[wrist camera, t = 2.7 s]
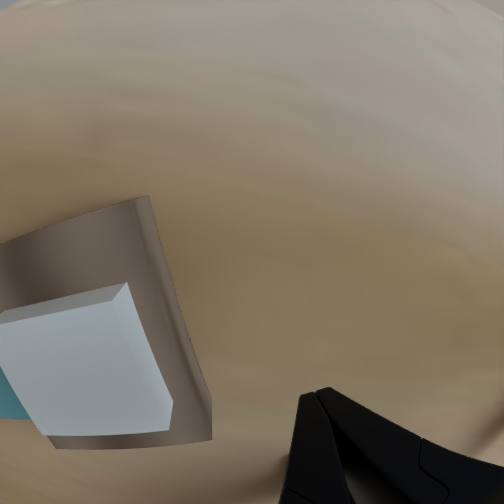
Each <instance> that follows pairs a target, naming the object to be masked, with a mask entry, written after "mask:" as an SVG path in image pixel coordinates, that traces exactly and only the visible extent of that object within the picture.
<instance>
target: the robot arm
mask: <svg viewBox="0 0 504 504" xmlns="http://www.w3.org/2000/svg"><path fill="white" fill-rule="evenodd" d="M278 504H504V467H502V466H498V465H495V464H491V463H488V462H484V461H481V460H477V459H474V458H470V457H467V456H464V455H461V454H459V453H456V452H453V451H450V450H448V449H446V448H443V447H441V446H439V445H437V444H434V443H432V442H430V441H428V440H426V439H424V438H422V439H421V437H420V436H418V435H416V434H414V433H412V432H410V431H408V430H406V429H404V428H403V427H401V426H399V425H397V424H395V423H393V422H391V421H389V420H388V419H386V418H384V417H382V416H380V415H378V414H376V413H375V412H373V411H371V410H369V409H367V408H366V407H364V406H362V405H360V404H359V403H357V402H355V401H353V400H352V399H350V398H348V397H346V396H345V395H343V394H341V393H339V392H338V391H336V390H334V389H333V388H331V387H326V388H323V389H320V390H317V391H316V392H309V393H306V394H302V395H300V397H299V402H298V408H297V414H296V420H295V426H294V431H293V437H292V442H291V447H290V453H289V458H288V463H287V468H286V473H285V478H284V482H283V488H282V491H281V495H280V500H279V503H278Z"/></svg>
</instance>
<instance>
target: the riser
mask: <svg viewBox="0 0 504 504" xmlns="http://www.w3.org/2000/svg"><path fill="white" fill-rule="evenodd" d="M125 282H127V284H128V287H129V290H130V293H131V296H132V299H133V302H134V305H135V308H136V310H137V313H138V316H139V319H140V322H141V324H142V327H143V330H144V332H145V335H146V338H147V340H148V343H149V345H150V348H151V350H152V353H153V355H154V358H155V360H156V363H157V365H158V368H159V370H160V372H161V375H162V377H163V379H164V382H165V384H166V386H167V388H168V391H169V393H170V395H171V397H172V400H173V407H172V413H171V420H170V427H169V430H166V431H157V432H147V433H135V434H120V435H98V436H54V435H46V436H47V437H48V438H49V440H50V441H51V442H52V444H53V445H54V447H55V448H56V449H87V450H99V449H131V448H147V447H159V446H169V445H178V444H186V443H194V442H201V441H208V440H212V399H211V396H210V394H209V391H208V388H207V386H206V383H205V380H204V378H203V375H202V372H201V369H200V367H199V364H198V361H197V358H196V355H195V353H194V350H193V347H192V344H191V341H190V338H189V335H188V332H187V329H186V326H185V323H184V320H183V317H182V314H181V310H180V307H179V304H178V301H177V298H176V294H175V291H174V288H173V284H172V281H171V278H170V274H169V271H168V267H167V264H166V260H165V257H164V253H163V250H162V246H161V242H160V239H159V235H158V231H157V227H156V223H155V219H154V216H153V212H152V208H151V203H150V199H149V196H145V197H141V198H137V199H133V200H129V201H126V202H123V203H119V204H116V205H112V206H109V207H106V208H103V209H99V210H96V211H93V212H90V213H87V214H84V215H80V216H77V217H74V218H71V219H68V220H65V221H62V222H59V223H56V224H54V225H51V226H48V227H45V228H42V229H39V230H37V231H34V232H31V233H28V234H26V235H23V236H20V237H18V238H15V239H12V240H10V241H7V242H5V243H2V244H0V314H1V313H2V312H4V311H6V310H10V309H15V308H19V307H23V306H27V305H32V304H36V303H40V302H44V301H49V300H53V299H57V298H61V297H66V296H70V295H74V294H78V293H83V292H87V291H91V290H95V289H100V288H104V287H108V286H112V285H117V284H121V283H125Z"/></svg>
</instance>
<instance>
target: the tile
mask: <svg viewBox="0 0 504 504" xmlns="http://www.w3.org/2000/svg"><path fill="white" fill-rule="evenodd" d="M0 366H1V368H2V370H3V372H4V374H5V376H6V378H7V380H8V381H9V383H10V385H11V387H12V388H13V390H14V392H15V394H16V395H17V397H18V399H19V400H20V402H21V404H22V405H23V407H24V408H25V410H26V412H27V413H28V415H29V416H30V418H31V419H32V421H33V422H34V424H35V425H36V427H37V428H38V430H39V431H40V432H41V434H42V435H54V436H98V435H120V434H135V433H147V432H157V431H166V430H169V427H170V420H171V413H172V407H173V400H172V397H171V395H170V393H169V391H168V388H167V386H166V384H165V382H164V379H163V377H162V375H161V372H160V370H159V368H158V365H157V363H156V360H155V358H154V355H153V353H152V350H151V348H150V345H149V343H148V340H147V338H146V335H145V332H144V330H143V327H142V324H141V322H140V319H139V316H138V313H137V310H136V308H135V305H134V302H133V299H132V296H131V293H130V290H129V287H128V284H127V282H125V283H121V284H117V285H112V286H108V287H104V288H100V289H95V290H91V291H87V292H83V293H78V294H74V295H70V296H66V297H61V298H57V299H53V300H49V301H44V302H40V303H36V304H32V305H27V306H23V307H19V308H15V309H10V310H6V311H4V312H2V313H1V314H0Z"/></svg>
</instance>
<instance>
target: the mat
mask: <svg viewBox="0 0 504 504" xmlns="http://www.w3.org/2000/svg"><path fill="white" fill-rule="evenodd" d="M0 418H13V419H31V418H30V416H29V415H28V413H27V412H26V410H25V408H24V407H23V405H22V404H21V402H20V400H19V399H18V397H17V395H16V394H15V392H14V390H13V388H12V387H11V385H10V383H9V381H8V380H7V378H6V376H5V374H4V372H3V370H2V368H1V366H0Z"/></svg>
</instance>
